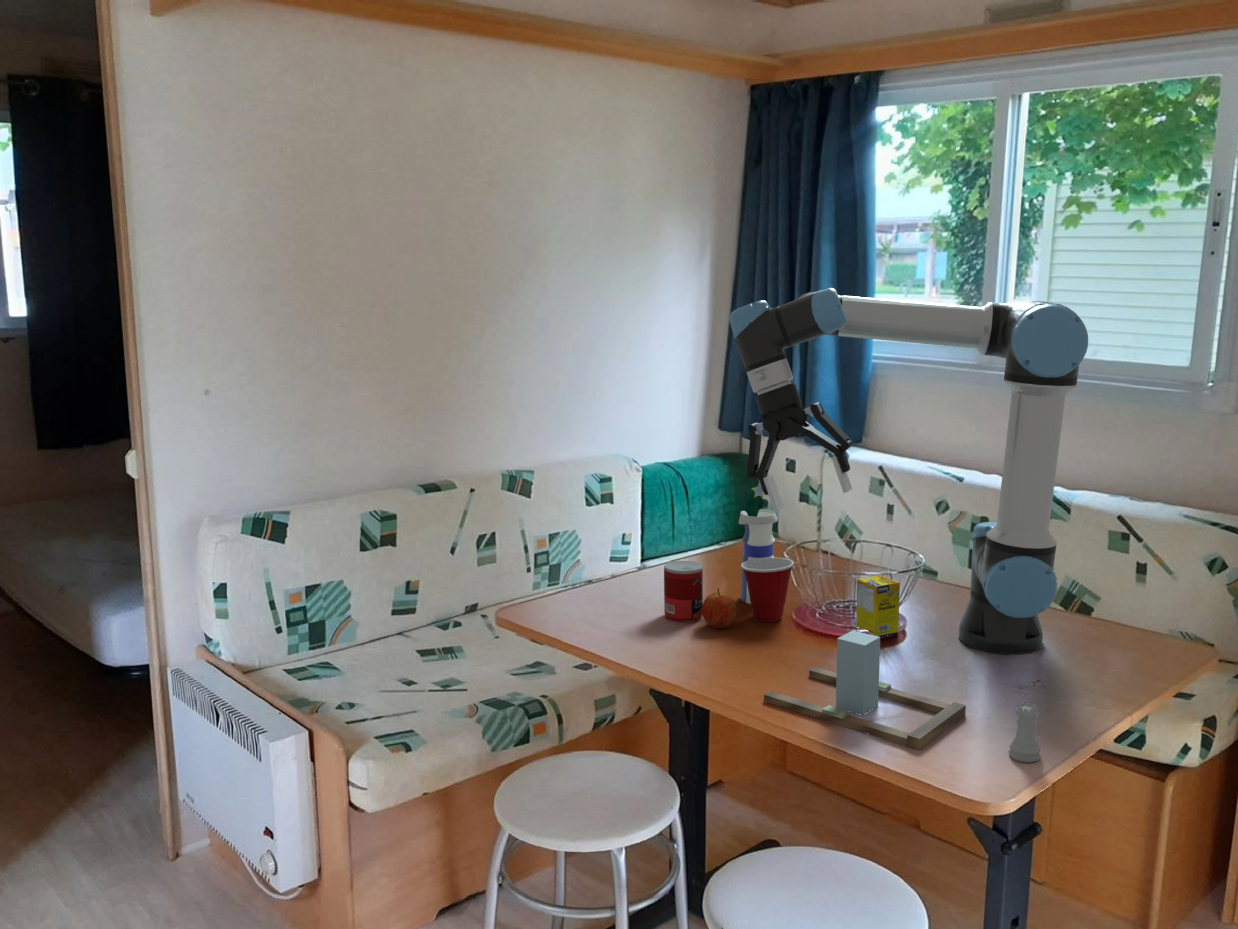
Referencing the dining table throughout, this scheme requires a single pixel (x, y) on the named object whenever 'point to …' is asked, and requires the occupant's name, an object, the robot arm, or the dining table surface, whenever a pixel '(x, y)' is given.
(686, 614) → the canned food
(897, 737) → the brown u-shaped frame
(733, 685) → the dining table surface
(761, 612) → the plastic cup
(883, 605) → the supplement box
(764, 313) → the robot arm
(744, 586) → the water bottle
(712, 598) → the fruit
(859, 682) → the blue-grey tall rectangular block
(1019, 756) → the rook chess piece
